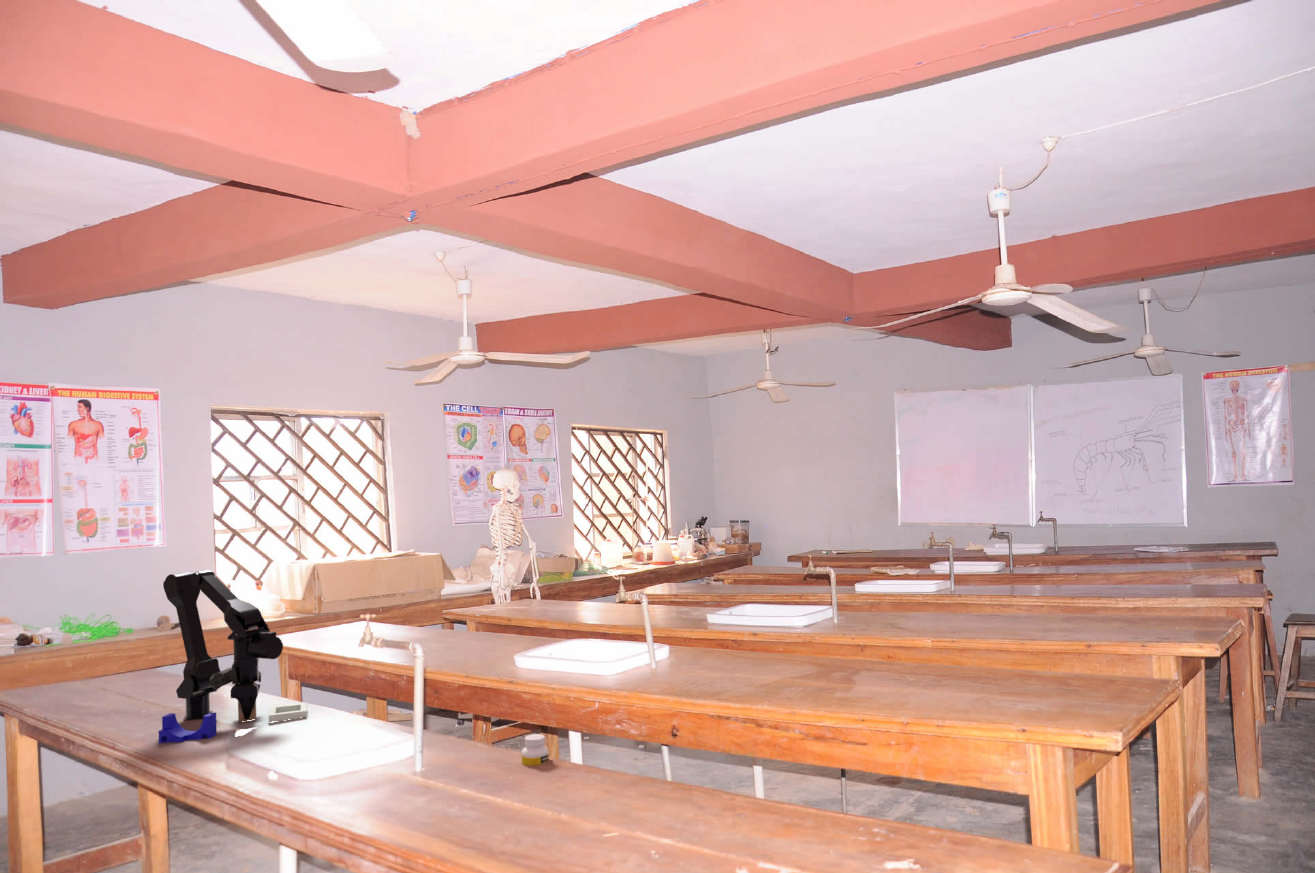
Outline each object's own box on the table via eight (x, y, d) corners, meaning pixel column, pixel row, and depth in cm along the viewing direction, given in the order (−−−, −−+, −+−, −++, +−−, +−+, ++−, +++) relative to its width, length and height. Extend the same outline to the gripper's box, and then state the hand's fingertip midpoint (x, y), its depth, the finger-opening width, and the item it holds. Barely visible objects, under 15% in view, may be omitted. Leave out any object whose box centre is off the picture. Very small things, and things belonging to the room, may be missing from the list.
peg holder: (270, 718, 238) (270, 706, 238) (307, 713, 241) (306, 702, 241) (268, 727, 230) (268, 715, 230) (306, 722, 233) (306, 710, 233)
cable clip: (158, 743, 220) (158, 718, 220) (170, 737, 224) (169, 713, 225) (206, 742, 219) (205, 717, 219) (216, 736, 224) (216, 712, 224)
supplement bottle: (544, 791, 178) (542, 741, 178) (518, 790, 179) (516, 740, 179) (553, 781, 183) (551, 733, 184) (527, 780, 185) (526, 732, 185)
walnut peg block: (239, 720, 237) (239, 693, 237) (256, 718, 238) (255, 691, 238) (238, 724, 233) (237, 697, 233) (255, 722, 234) (254, 695, 235)
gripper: (215, 653, 242) (216, 712, 242) (207, 667, 224) (209, 730, 224) (260, 648, 246) (262, 706, 245) (256, 662, 228) (258, 724, 228)
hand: (247, 716), depth 236 cm, fingers closed on walnut peg block, 4 cm apart
